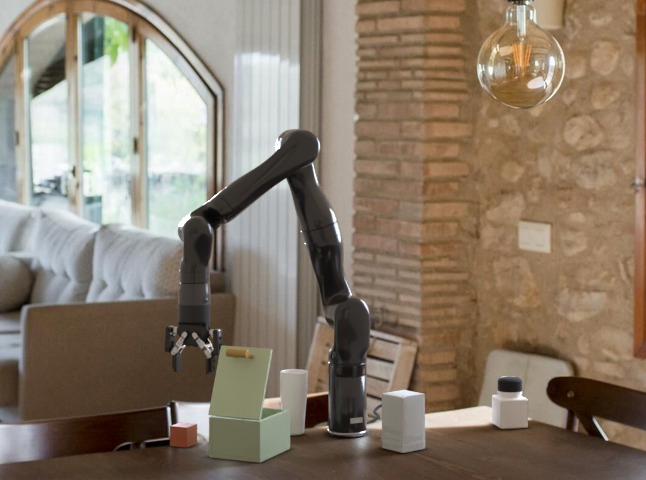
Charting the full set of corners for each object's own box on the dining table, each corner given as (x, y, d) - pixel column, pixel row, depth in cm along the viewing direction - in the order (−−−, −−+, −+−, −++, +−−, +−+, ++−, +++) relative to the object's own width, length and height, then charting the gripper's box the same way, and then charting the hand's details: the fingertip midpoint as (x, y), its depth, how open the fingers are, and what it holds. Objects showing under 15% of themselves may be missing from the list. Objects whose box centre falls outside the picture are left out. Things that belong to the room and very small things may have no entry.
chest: (240, 443, 299) (241, 405, 299) (290, 448, 294) (290, 409, 294) (208, 457, 285) (208, 416, 285) (259, 462, 280) (260, 421, 280)
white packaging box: (426, 449, 293) (426, 393, 294) (401, 453, 289) (401, 397, 289) (405, 443, 299) (404, 388, 299) (380, 448, 294) (380, 392, 295)
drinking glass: (309, 431, 313) (309, 369, 313) (305, 437, 306) (305, 373, 306) (281, 430, 313) (282, 368, 314) (277, 436, 306) (277, 373, 307)
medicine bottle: (528, 428, 316) (528, 379, 316) (500, 429, 315) (500, 380, 315) (518, 422, 323) (518, 374, 323) (491, 423, 322) (491, 375, 322)
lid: (222, 346, 291) (212, 340, 287) (272, 349, 286) (263, 344, 282) (209, 415, 286) (199, 410, 282) (260, 420, 281) (250, 415, 276)
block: (180, 442, 301) (180, 422, 301) (197, 443, 299) (197, 423, 299) (169, 446, 296) (169, 425, 296) (186, 447, 294) (187, 427, 295)
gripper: (229, 302, 298) (228, 372, 297) (176, 299, 303) (175, 368, 303) (213, 305, 291) (212, 377, 290) (159, 302, 296) (158, 372, 296)
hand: (193, 372), depth 296 cm, fingers open, 8 cm apart
